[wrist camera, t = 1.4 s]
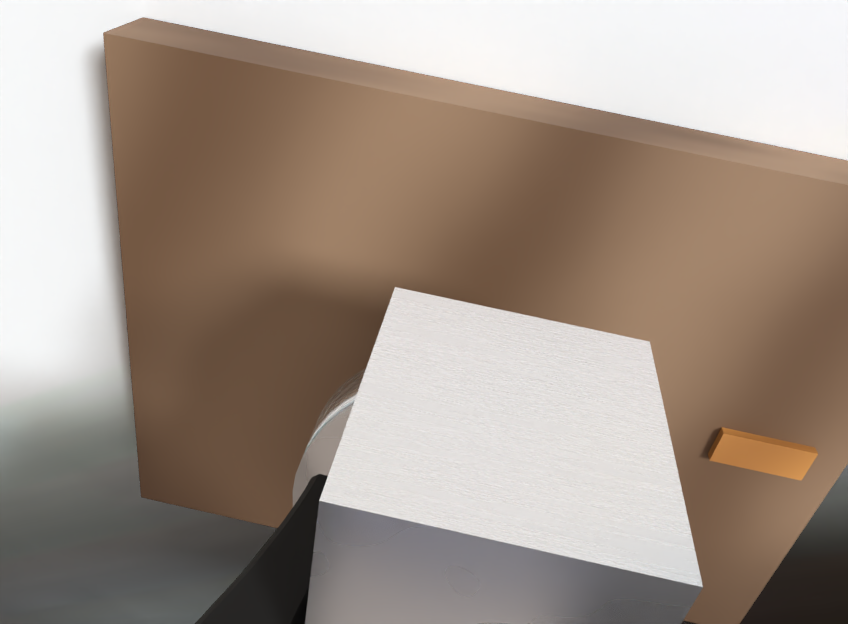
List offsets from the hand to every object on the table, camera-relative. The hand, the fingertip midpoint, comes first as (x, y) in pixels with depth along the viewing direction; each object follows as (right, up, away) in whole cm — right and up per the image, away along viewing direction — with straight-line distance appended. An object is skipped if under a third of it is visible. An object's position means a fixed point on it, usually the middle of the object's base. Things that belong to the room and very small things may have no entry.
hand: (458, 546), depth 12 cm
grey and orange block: (0, +1, +1) cm, 2 cm away
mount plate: (+1, +3, +5) cm, 6 cm away
